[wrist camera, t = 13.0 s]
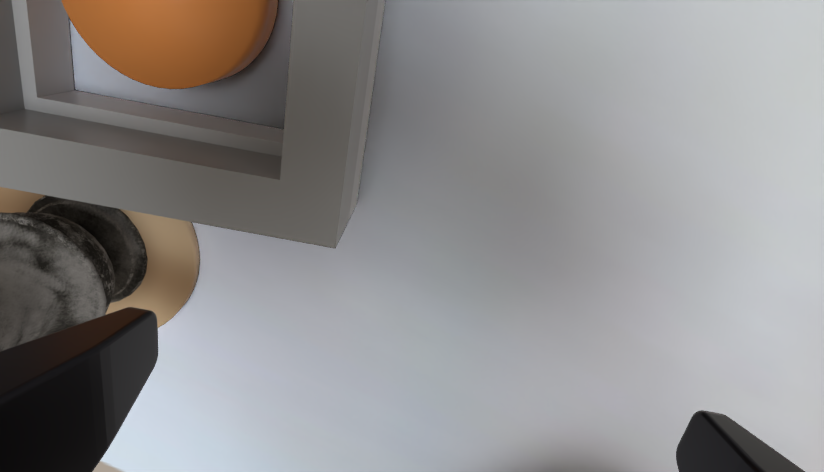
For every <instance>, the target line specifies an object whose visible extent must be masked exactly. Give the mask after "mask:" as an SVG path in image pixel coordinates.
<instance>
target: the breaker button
mask: <svg viewBox="0 0 824 472" xmlns="http://www.w3.org/2000/svg"><path fill="white" fill-rule="evenodd" d="M61 1H62V3H63V6H64V8H65V10H66V12H67V14H68V16H69V18H70V20H71V22H72V23H73V25H74V27H75V28H76V30H77V31H78V33H79V34H80V35H81V37H82V38H83V39H84V41H85V42H86V43H87V44H88V46H89V47H90V48H91V49H92V50H93V51H94V52H95V53H96V54H97V55H98V56H99V57H100V58H101V59H103V60H104V61H105V62H106V63H107V64H108V65H110V66H111V67H113V68H114V69H116V70H117V71H119V72H120V73H122V74H124V75H126V76H127V77H129V78H131V79H133V80H136V81H138V82H141V83H143V84H146V85H150V86H154V87H159V88H167V89H184V88H190V87H195V86H199V85H203V84H207V83H210V82H214V81H218V80H221V79H224V78H227V77H230V76H232V75H234V74H236V73H238V72H240V71H241V70H242V69H244V68H245V67H247V66H248V65H249V64H250V63H251V62H252V61H253V60H254V59H255V58H256V57H257V56H258V55H259V53H260V52H261V51H262V49H263V48H264V46H265V44H266V42H267V41H268V39H269V37H270V34H271V32H272V29H273V26H274V22H275V18H276V13H277V5H278V0H61Z"/></svg>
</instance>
